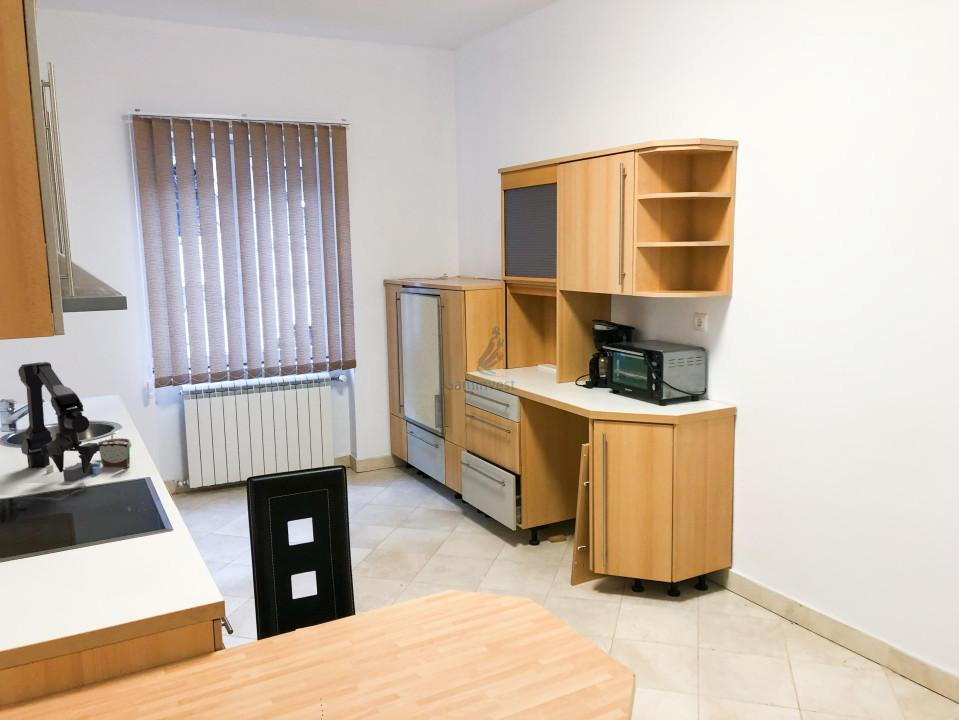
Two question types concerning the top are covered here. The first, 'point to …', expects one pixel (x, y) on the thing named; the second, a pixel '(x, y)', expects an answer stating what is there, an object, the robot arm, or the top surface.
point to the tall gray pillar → (76, 472)
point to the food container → (115, 452)
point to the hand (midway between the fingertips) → (73, 472)
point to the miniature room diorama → (59, 476)
